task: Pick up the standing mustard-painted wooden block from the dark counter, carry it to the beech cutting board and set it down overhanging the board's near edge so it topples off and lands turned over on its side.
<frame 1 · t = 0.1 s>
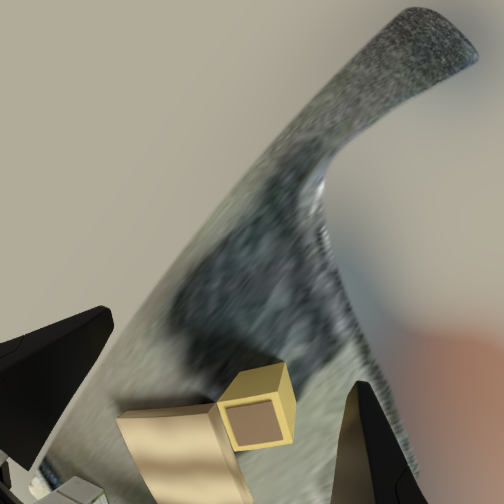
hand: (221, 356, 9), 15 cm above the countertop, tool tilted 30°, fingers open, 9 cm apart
syrup box: (94, 494, 25), on the countertop
cutting board: (189, 460, 24), on the countertop
mustard block: (268, 387, 23), on the countertop
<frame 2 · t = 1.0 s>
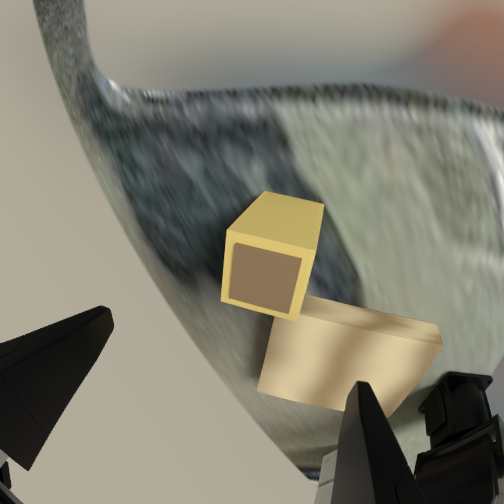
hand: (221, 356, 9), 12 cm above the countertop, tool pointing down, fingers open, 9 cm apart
syrup box: (351, 453, 31), on the countertop
cutting board: (345, 353, 23), on the countertop
mustard block: (288, 225, 20), on the countertop
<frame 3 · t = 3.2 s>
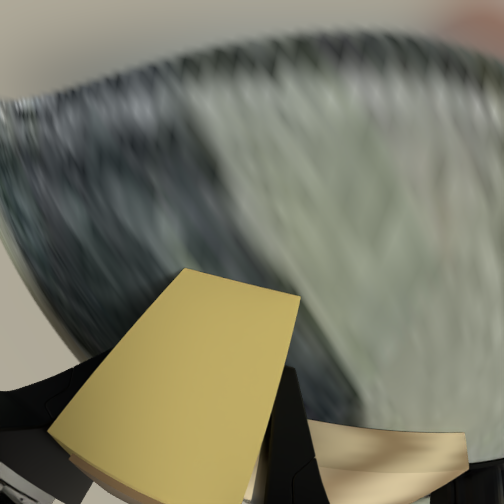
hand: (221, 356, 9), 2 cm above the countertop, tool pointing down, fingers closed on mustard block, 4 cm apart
cutting board: (333, 462, 14), on the countertop
mustard block: (235, 326, 11), on the countertop, touching gripper
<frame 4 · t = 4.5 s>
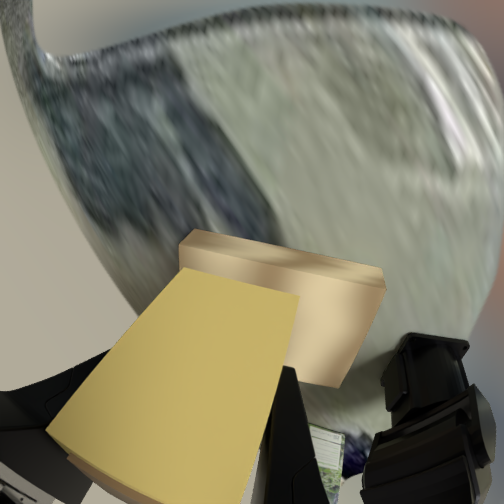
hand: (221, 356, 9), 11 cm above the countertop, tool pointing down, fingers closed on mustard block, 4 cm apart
syrup box: (314, 434, 30), on the countertop
cutting board: (275, 306, 22), on the countertop
mustard block: (234, 326, 10), point 10 cm above the countertop, touching gripper
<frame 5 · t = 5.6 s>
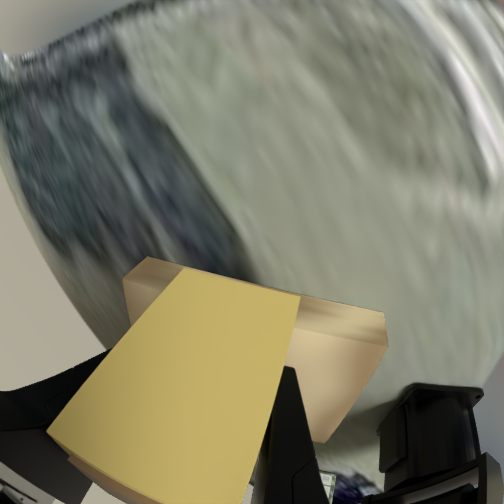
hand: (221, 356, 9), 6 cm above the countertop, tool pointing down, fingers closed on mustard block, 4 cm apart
syrup box: (302, 472, 25), on the countertop
cutting board: (249, 351, 17), on the countertop
mustard block: (235, 326, 10), point 4 cm above the countertop, touching gripper
when the fingers open (5 cm above the countertop, at t = 6.0 s): mustard block drops 2 cm and tips over, point 2 cm above the countertop.
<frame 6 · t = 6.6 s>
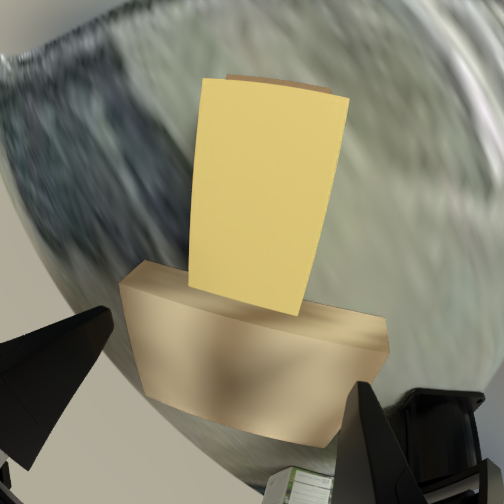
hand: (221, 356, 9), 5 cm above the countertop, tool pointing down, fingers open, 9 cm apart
syrup box: (302, 475, 25), on the countertop
cutting board: (248, 356, 17), on the countertop
mustard block: (255, 272, 12), point 2 cm above the countertop, tilted 90°
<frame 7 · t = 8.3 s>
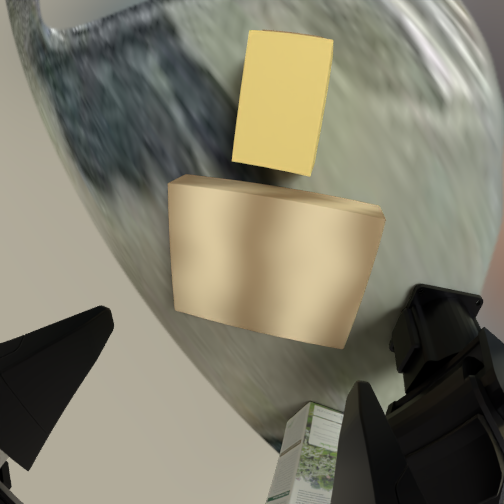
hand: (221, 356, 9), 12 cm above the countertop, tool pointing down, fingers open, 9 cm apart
syrup box: (320, 416, 28), on the countertop
cutting board: (270, 255, 21), on the countertop
mustard block: (277, 161, 16), point 2 cm above the countertop, tilted 90°
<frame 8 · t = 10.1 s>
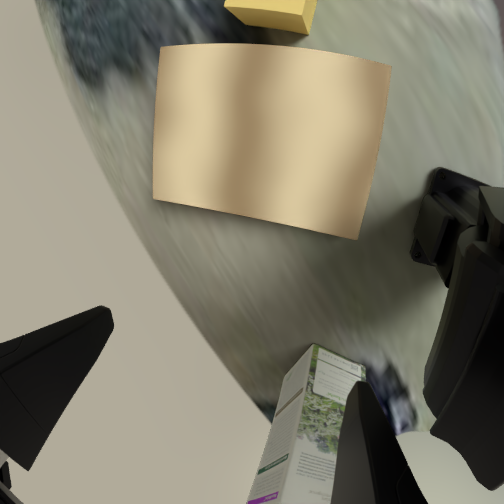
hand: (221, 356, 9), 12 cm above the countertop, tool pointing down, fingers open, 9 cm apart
syrup box: (324, 369, 25), on the countertop
cutting board: (267, 129, 17), on the countertop
mustard block: (270, 20, 12), point 2 cm above the countertop, tilted 90°
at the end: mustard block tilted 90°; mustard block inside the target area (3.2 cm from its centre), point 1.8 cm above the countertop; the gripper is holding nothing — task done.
